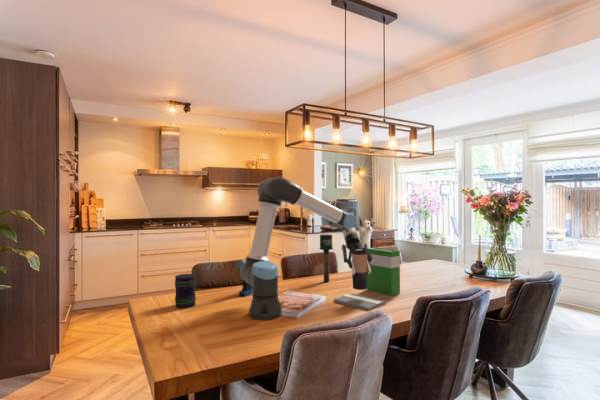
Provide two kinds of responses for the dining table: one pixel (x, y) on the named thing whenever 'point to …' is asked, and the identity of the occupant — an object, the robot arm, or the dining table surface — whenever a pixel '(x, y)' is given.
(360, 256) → the travel mug
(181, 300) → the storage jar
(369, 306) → the grey book
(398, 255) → the hardback book
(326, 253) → the potato masher grenade
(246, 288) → the handheld scanner
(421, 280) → the dining table surface
